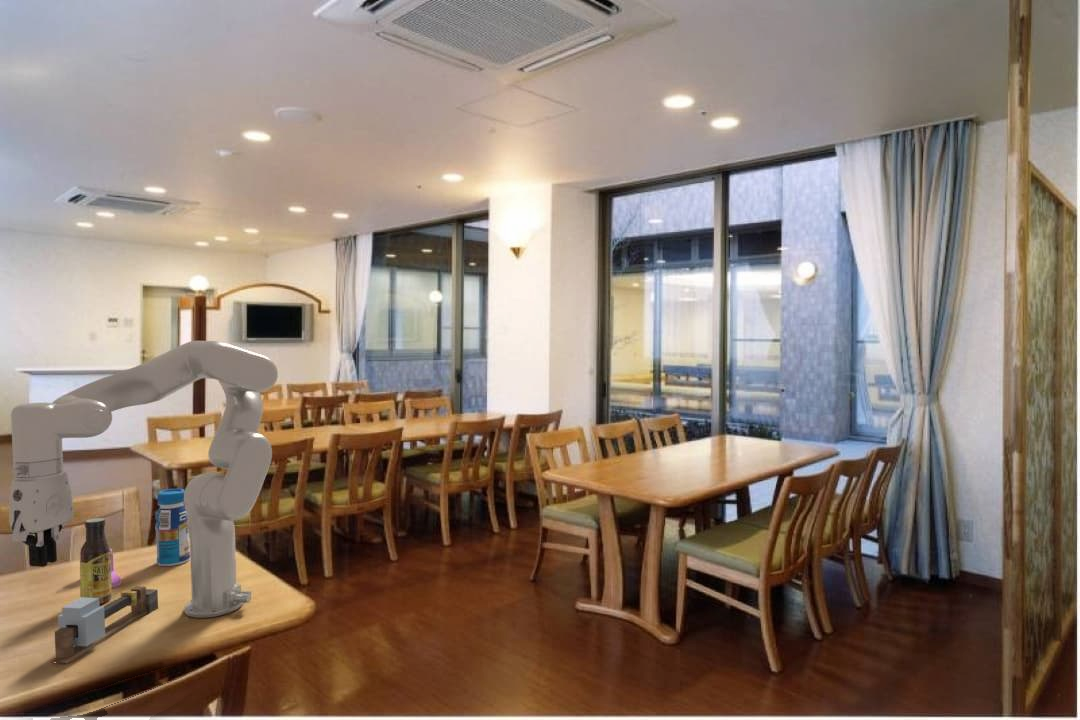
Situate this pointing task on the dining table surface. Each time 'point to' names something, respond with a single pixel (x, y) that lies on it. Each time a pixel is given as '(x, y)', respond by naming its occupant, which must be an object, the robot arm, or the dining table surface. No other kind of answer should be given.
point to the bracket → (114, 574)
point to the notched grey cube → (84, 620)
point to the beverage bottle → (172, 528)
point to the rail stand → (140, 606)
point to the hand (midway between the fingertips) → (43, 563)
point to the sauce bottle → (95, 562)
